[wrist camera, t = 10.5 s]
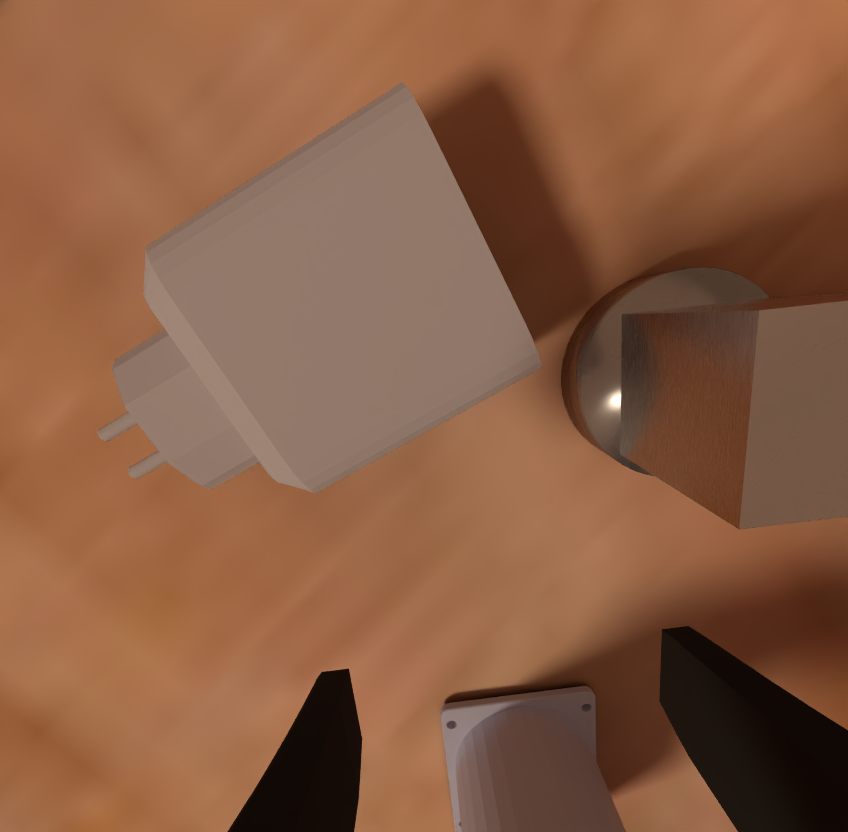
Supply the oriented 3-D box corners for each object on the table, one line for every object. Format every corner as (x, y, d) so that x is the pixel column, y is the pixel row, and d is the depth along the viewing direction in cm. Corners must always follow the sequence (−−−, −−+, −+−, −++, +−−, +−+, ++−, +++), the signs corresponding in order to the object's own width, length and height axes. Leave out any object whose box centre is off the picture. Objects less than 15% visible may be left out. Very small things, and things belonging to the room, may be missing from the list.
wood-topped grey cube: (754, 438, 16) (946, 504, 10) (619, 454, 16) (739, 529, 10) (767, 297, 14) (996, 283, 9) (621, 314, 14) (758, 310, 9)
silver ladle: (970, 419, 18) (1183, 456, 13) (563, 469, 18) (623, 525, 13) (1010, 233, 16) (1276, 194, 11) (557, 286, 16) (624, 270, 11)
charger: (85, 342, 16) (404, 143, 15) (221, 520, 18) (512, 357, 17) (-43, 351, 12) (402, 64, 10) (158, 587, 14) (550, 370, 12)
